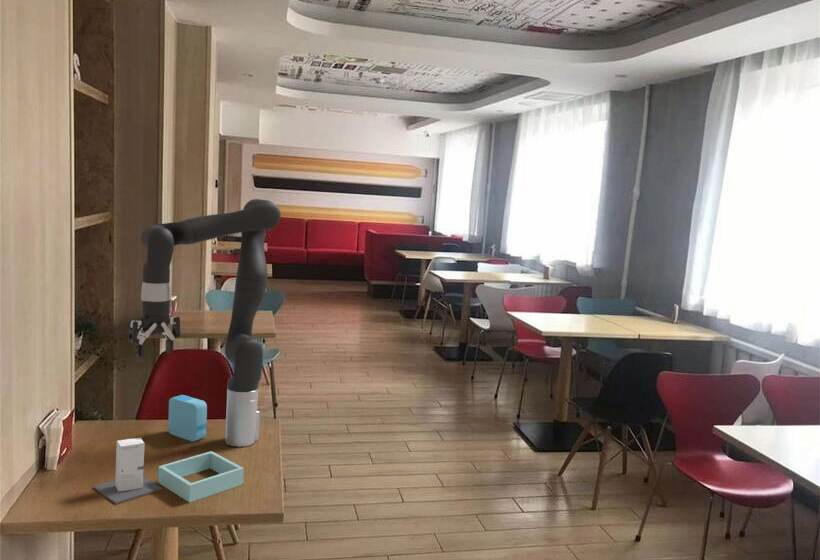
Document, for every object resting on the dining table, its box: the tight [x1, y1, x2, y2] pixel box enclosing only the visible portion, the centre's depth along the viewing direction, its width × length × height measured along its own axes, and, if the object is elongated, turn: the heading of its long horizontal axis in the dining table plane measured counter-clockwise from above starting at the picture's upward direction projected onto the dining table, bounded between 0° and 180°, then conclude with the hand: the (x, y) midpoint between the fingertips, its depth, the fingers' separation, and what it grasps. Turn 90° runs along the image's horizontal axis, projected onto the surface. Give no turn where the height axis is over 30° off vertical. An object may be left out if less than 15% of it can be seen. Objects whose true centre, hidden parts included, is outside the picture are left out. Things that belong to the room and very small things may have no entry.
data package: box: [167, 394, 208, 442], centre depth 206 cm, size 12×4×12 cm, turn 61°
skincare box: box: [114, 437, 145, 492], centre depth 169 cm, size 6×4×12 cm
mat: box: [92, 475, 163, 505], centre depth 169 cm, size 12×12×1 cm
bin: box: [157, 450, 245, 503], centre depth 175 cm, size 16×15×4 cm
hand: (154, 354), depth 186 cm, fingers open, 8 cm apart
